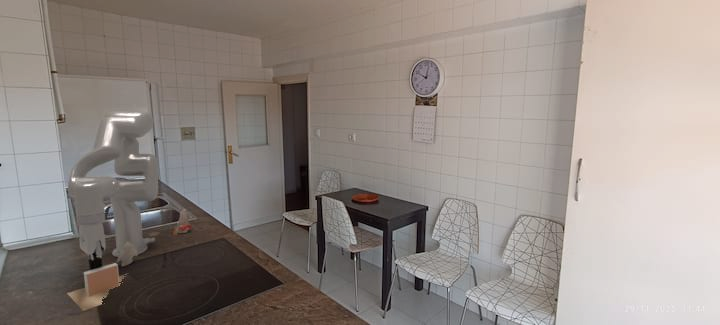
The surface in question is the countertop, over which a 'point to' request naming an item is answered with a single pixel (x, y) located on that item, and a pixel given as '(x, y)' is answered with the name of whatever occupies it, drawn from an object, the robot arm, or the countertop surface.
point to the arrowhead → (127, 254)
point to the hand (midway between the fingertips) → (96, 269)
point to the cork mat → (91, 301)
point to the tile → (101, 279)
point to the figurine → (182, 223)
